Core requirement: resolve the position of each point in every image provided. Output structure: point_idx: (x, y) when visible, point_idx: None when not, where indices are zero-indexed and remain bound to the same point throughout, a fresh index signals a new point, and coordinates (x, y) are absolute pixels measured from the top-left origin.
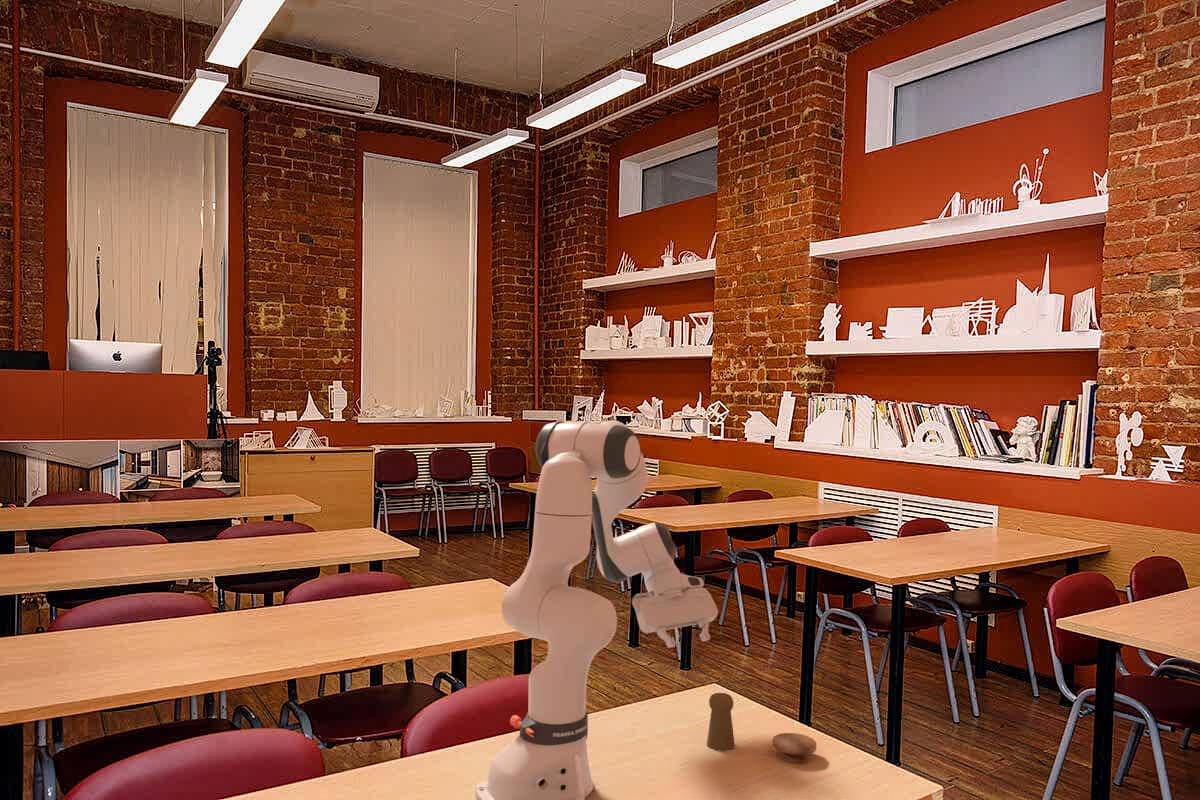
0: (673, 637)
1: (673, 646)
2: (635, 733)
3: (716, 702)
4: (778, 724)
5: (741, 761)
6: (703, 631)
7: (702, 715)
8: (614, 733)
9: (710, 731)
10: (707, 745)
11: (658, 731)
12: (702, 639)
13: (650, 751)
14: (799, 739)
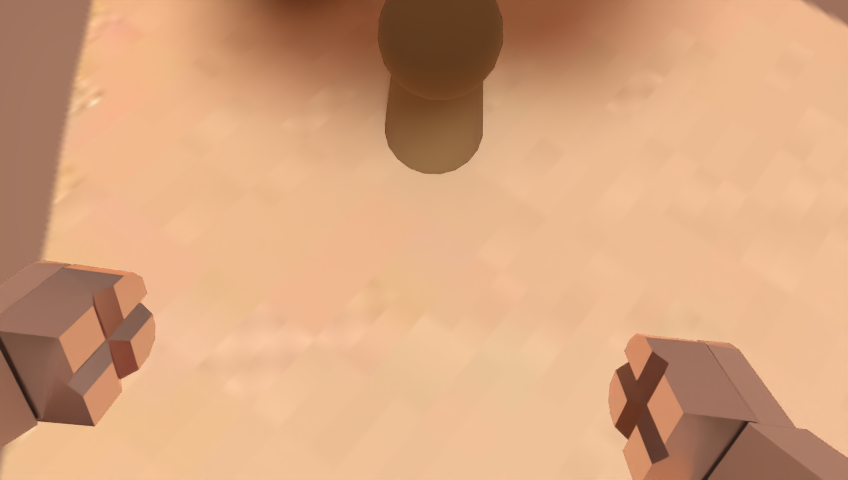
0: (687, 405)
1: (629, 374)
2: None
3: (496, 4)
4: (121, 139)
5: None
6: (39, 334)
7: (287, 376)
8: None
9: (481, 112)
10: (478, 146)
11: (548, 350)
12: (139, 338)
13: (680, 224)
14: None
